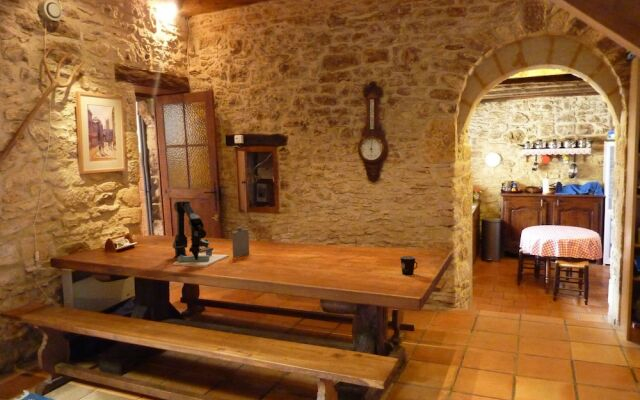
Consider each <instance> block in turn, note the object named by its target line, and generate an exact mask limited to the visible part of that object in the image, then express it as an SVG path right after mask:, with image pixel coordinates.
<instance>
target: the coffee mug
mask: <svg viewBox="0 0 640 400" xmlns="http://www.w3.org/2000/svg"><path fill="white" fill-rule="evenodd" d="M400 265H401V266H400V267H401V274H402V275H403V276H407V275H410V276H413V275H414V273H415V272H414V271H415V270H416V269H417V268H418V262H417V261H416V256H413V255H402V256H400Z"/></svg>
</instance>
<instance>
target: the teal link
mask: <svg viewBox="0 0 640 400" xmlns="http://www.w3.org/2000/svg"><path fill="white" fill-rule="evenodd" d="M209 260H210V258H209V255H203V256H198V260H195V258H194V256H193V255H187V256H183V255H180V256H179V257H177V261H178V262H186V261H209Z"/></svg>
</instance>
